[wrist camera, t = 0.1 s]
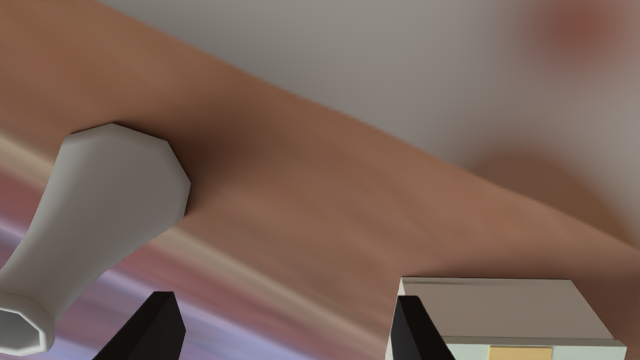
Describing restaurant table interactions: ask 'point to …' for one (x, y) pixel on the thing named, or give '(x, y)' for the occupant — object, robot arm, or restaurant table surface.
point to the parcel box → (505, 308)
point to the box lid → (534, 349)
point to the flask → (87, 227)
